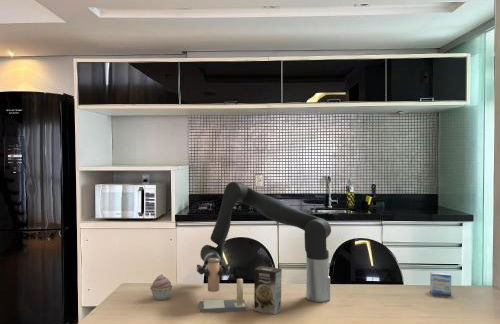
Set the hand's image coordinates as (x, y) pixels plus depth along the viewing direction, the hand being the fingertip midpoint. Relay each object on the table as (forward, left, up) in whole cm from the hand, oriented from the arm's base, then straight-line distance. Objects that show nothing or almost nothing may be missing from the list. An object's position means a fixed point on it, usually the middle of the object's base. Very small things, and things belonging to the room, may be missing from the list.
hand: (213, 274), depth 154 cm
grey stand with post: (-4, -3, -14) cm, 14 cm away
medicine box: (-100, -9, -14) cm, 101 cm away
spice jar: (0, -3, -7) cm, 8 cm away
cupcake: (+21, -16, -14) cm, 30 cm away
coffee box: (-21, +3, -14) cm, 25 cm away
